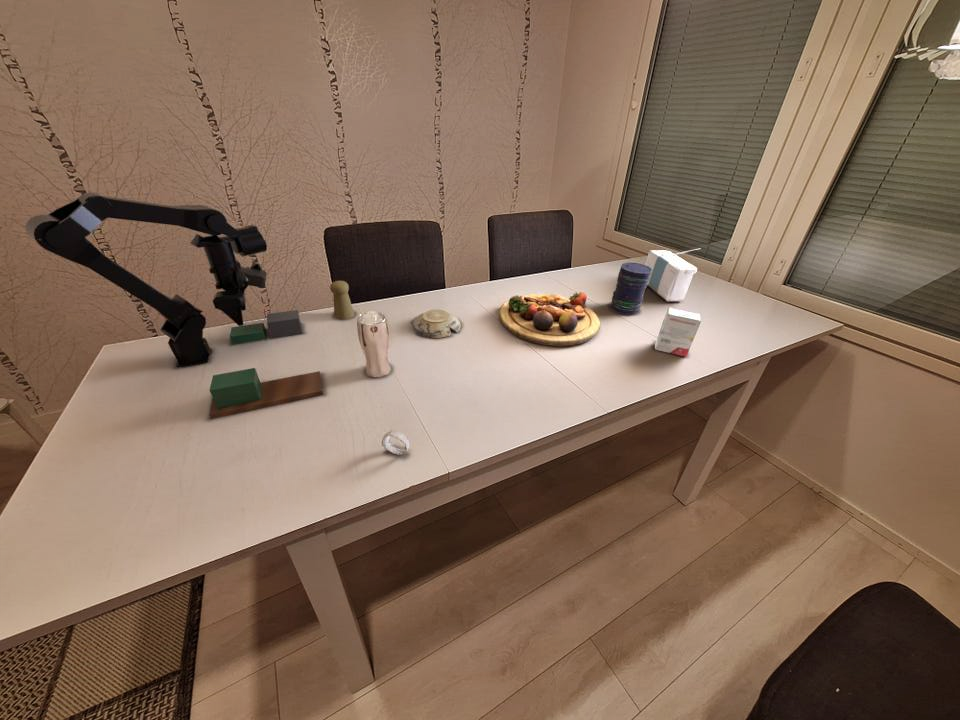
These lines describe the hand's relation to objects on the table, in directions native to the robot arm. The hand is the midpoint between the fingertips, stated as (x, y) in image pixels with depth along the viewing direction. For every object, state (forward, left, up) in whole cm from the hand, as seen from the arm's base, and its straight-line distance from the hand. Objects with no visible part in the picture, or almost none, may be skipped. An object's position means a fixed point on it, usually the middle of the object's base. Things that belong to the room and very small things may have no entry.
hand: (242, 317), depth 100 cm
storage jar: (+117, -21, -6) cm, 119 cm away
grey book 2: (+10, 0, -6) cm, 11 cm away
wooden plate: (+86, -20, -6) cm, 89 cm away
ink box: (+111, -47, -7) cm, 121 cm away
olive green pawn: (+26, +5, -6) cm, 27 cm away
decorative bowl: (+51, -11, -6) cm, 53 cm away
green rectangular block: (0, 0, -6) cm, 6 cm away
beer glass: (+30, -28, -6) cm, 42 cm away
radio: (+142, -14, -6) cm, 143 cm away
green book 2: (0, -29, -5) cm, 29 cm away
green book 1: (0, -29, -3) cm, 29 cm away
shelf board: (+6, -29, -6) cm, 30 cm away
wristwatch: (+28, -56, -6) cm, 63 cm away
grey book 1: (+10, 0, -4) cm, 10 cm away
